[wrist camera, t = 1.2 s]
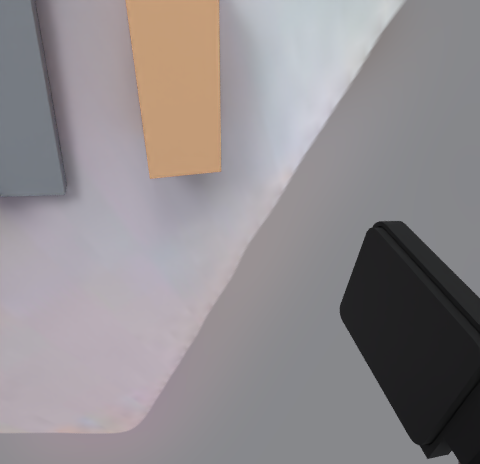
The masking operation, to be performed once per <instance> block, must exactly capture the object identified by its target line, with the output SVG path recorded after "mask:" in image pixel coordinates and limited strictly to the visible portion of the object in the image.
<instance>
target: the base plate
mask: <svg viewBox="0 0 480 464" xmlns="http://www.w3.org/2000/svg"><path fill="white" fill-rule="evenodd" d="M66 187H67V184H66V178H65V172H64V166H63V161H62V155H61V149H60V143H59V137H58V132H57V126H56V120H55V114H54V108H53V102H52V97H51V91H50V85H49V79H48V73H47V67H46V62H45V56H44V50H43V44H42V38H41V32H40V27H39V21H38V15H37V9H36V3H35V0H0V197H9V196H44V195H65V192H66Z"/></svg>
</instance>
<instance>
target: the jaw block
mask: <svg viewBox="0 0 480 464" xmlns="http://www.w3.org/2000/svg"><path fill="white" fill-rule="evenodd" d="M126 7H127V15H128V22H129V29H130V37H131V44H132V51H133V58H134V66H135V73H136V80H137V88H138V95H139V102H140V109H141V117H142V124H143V131H144V138H145V146H146V153H147V160H148V168H149V175H150V179H153V178H163V177H173V176H182V175H192V174H202V173H212V172H221V125H220V39H219V0H126Z"/></svg>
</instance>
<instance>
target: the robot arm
mask: <svg viewBox="0 0 480 464" xmlns="http://www.w3.org/2000/svg"><path fill="white" fill-rule="evenodd" d="M340 315H341V319H342V321H343V323H344V324H345V326H346V328H347V329H348V331H349V333H350V335H351V336H352V338H353V340H354V341H355V343H356V345H357V347H358V348H359V350H360V352H361V354H362V355H363V357H364V359H365V361H366V362H367V364H368V366H369V367H370V369H371V371H372V373H373V375H374V376H375V378H376V380H377V381H378V383H379V385H380V387H381V388H382V390H383V392H384V394H385V395H386V397H387V399H388V401H389V402H390V404H391V406H392V407H393V409H394V411H395V413H396V414H397V416H398V418H399V420H400V421H401V423H402V425H403V426H404V428H405V430H406V432H407V433H408V435H409V437H410V438H411V440H412V441H413V442H414V443H415V444H418V445H420V447H421V448H422V450H423V452H424V454H425V455H426V457H427V458H428V459H429V458H434V457H438V456H443V455H448V454H449V453H450V452H451V451H453V452H454V454H455V456H456V457H457V459H458V460H459V463H458V464H480V298H479V297H478V296H477V295H476V294H475V293H474V292H473V291H472V290H471V289H470V288H469V287H468V286H467V285H466V284H465V283H464V282H463V281H462V280H461V279H460V278H459V277H458V276H457V275H456V274H454V272H453V271H452V270H451V269H450V268H449V267H448V266H447V265H446V264H445V263H444V262H443V261H441V260H440V258H439V257H438V256H437V255H436V254H435V253H434V252H433V251H431V249H430V248H429V247H428V246H427V245H426V244H424V242H422V241H421V239H419V237H418V236H417V235H416V234H414V232H413V231H412V230H411V229H409V227H408V226H406V224H404V223H403V222H401V221H381V222H377V223H375V224H374V225H373V227H372V228H370V229H369V230H368V231H367V233H366V236H365V238H364V241H363V244H362V247H361V249H360V252H359V255H358V258H357V261H356V263H355V266H354V269H353V272H352V274H351V277H350V280H349V283H348V285H347V288H346V291H345V294H344V296H343V299H342V302H341V305H340Z"/></svg>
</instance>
